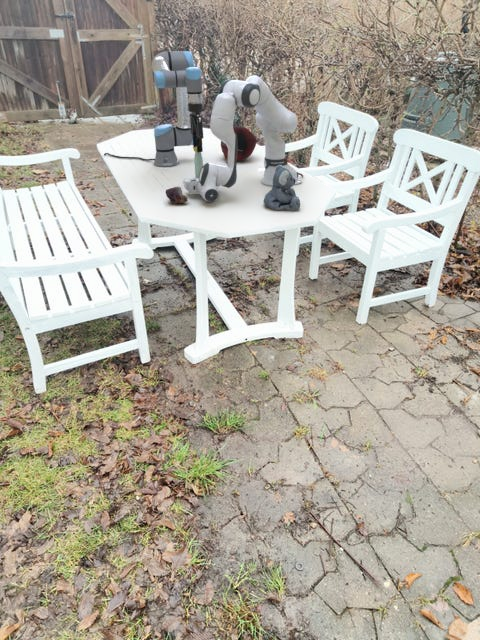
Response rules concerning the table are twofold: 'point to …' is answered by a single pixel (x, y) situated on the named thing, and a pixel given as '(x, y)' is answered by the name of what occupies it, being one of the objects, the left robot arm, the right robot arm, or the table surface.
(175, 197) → the rock
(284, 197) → the koala plush
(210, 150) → the table surface
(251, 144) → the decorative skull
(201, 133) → the left robot arm
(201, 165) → the bottle
